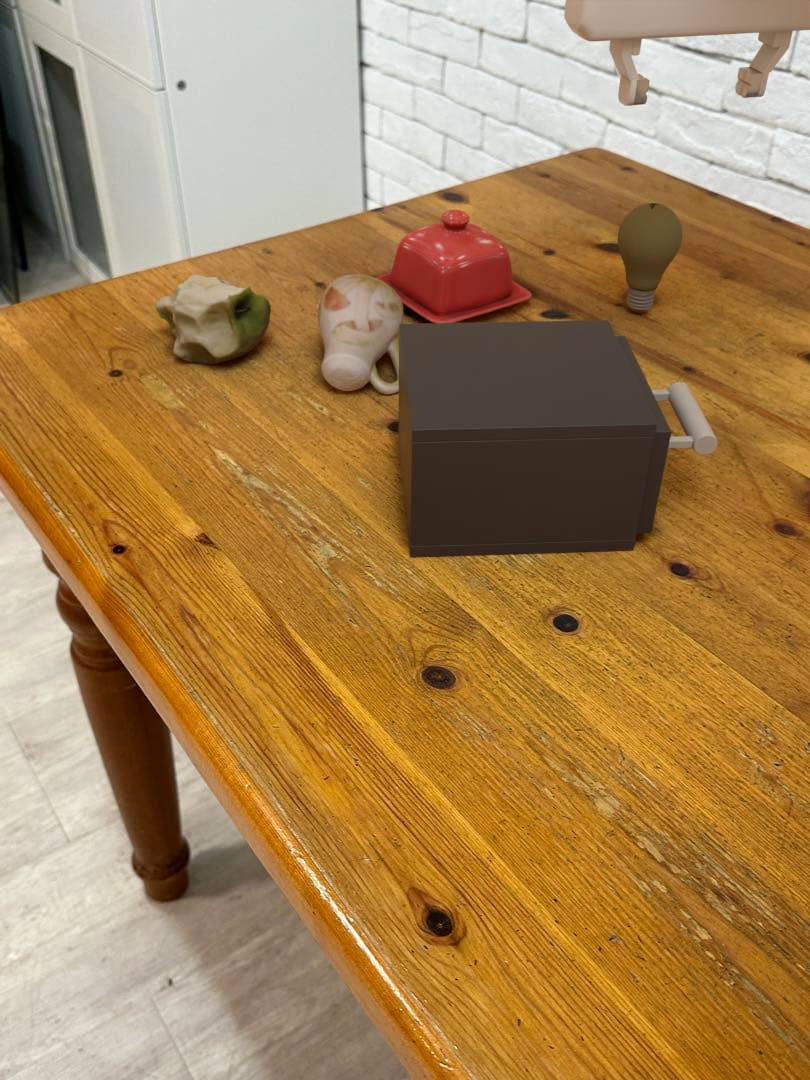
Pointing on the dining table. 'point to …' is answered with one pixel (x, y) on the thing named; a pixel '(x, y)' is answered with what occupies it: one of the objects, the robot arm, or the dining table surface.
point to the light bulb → (647, 250)
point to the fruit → (214, 319)
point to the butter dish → (453, 271)
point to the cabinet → (520, 438)
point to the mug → (359, 331)
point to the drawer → (668, 432)
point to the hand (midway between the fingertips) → (690, 99)
